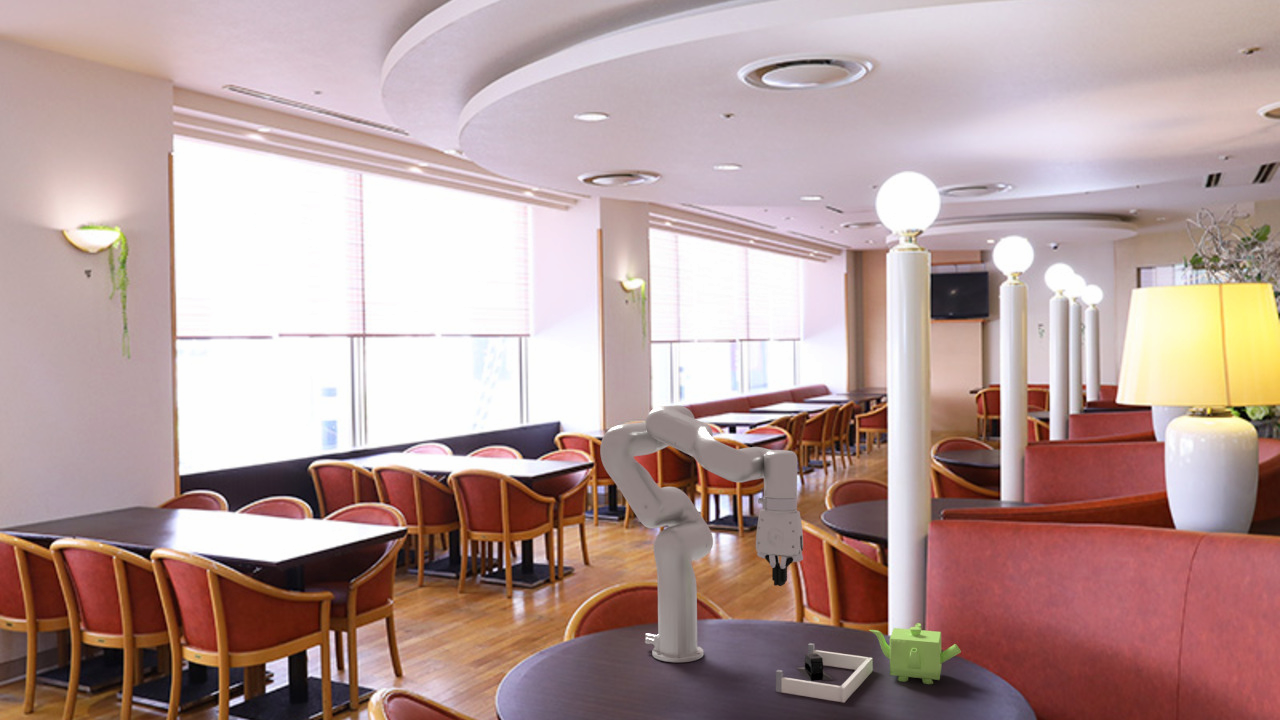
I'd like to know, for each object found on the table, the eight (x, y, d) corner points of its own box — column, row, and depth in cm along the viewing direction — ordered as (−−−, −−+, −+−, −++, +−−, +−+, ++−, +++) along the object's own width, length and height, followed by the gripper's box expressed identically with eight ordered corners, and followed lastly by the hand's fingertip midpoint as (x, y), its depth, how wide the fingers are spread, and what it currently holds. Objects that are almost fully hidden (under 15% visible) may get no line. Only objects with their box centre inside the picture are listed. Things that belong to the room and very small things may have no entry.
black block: (839, 684, 214) (838, 663, 214) (808, 686, 213) (808, 665, 213) (818, 666, 227) (818, 646, 227) (789, 668, 225) (788, 648, 225)
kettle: (868, 672, 220) (868, 624, 220) (915, 663, 226) (915, 616, 226) (915, 692, 207) (914, 640, 207) (963, 682, 213) (963, 631, 213)
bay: (776, 691, 208) (775, 671, 208) (809, 661, 228) (809, 643, 228) (844, 702, 201) (844, 681, 201) (872, 670, 221) (872, 651, 221)
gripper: (743, 504, 219) (742, 584, 219) (806, 509, 212) (805, 592, 212) (755, 499, 225) (755, 577, 226) (817, 505, 218) (816, 585, 218)
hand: (779, 584), depth 219 cm, fingers closed
